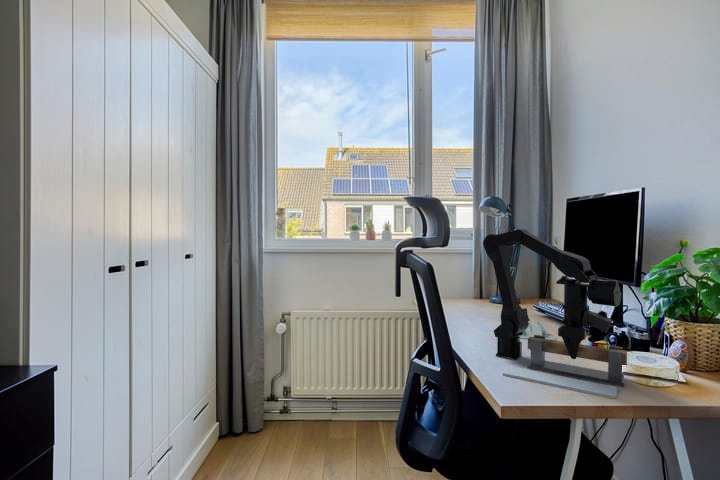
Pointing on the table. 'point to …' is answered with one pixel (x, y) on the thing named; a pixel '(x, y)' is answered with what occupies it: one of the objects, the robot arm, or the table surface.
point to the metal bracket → (535, 331)
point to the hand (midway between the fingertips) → (574, 356)
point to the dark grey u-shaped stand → (610, 377)
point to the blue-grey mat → (562, 382)
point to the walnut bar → (583, 350)
